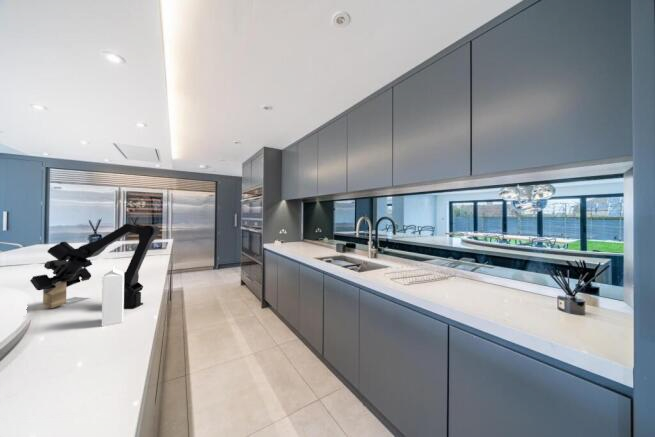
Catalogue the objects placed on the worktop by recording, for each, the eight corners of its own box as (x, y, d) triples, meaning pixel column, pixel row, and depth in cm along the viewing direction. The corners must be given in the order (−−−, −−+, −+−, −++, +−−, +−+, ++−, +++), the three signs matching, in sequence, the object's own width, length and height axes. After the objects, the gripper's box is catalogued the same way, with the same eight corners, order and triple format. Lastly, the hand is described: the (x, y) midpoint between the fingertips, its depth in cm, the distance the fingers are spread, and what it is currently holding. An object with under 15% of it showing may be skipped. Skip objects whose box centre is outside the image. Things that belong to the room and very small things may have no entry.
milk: (101, 326, 90) (101, 268, 90) (104, 321, 95) (104, 266, 95) (122, 322, 94) (123, 267, 94) (124, 317, 98) (124, 264, 98)
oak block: (66, 303, 109) (66, 276, 109) (52, 307, 104) (52, 279, 104) (57, 303, 110) (57, 276, 110) (43, 307, 105) (43, 278, 105)
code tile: (90, 299, 120) (90, 298, 120) (68, 305, 111) (68, 304, 111) (74, 298, 121) (74, 296, 121) (51, 304, 112) (51, 303, 112)
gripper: (86, 251, 116) (68, 272, 117) (33, 257, 97) (12, 282, 99) (99, 267, 114) (81, 289, 116) (48, 277, 96) (27, 302, 98)
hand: (52, 290), depth 107 cm, fingers closed on oak block, 5 cm apart
